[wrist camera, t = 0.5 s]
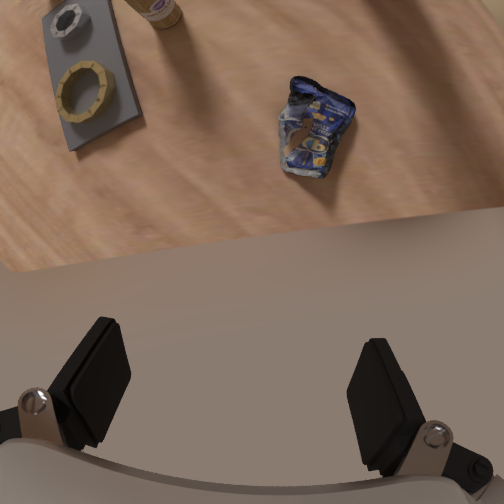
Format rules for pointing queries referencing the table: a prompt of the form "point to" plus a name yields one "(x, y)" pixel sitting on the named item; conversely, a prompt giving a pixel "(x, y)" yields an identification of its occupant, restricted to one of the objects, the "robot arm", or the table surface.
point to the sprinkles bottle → (157, 11)
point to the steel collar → (77, 25)
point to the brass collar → (103, 96)
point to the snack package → (324, 126)
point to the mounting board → (91, 71)
